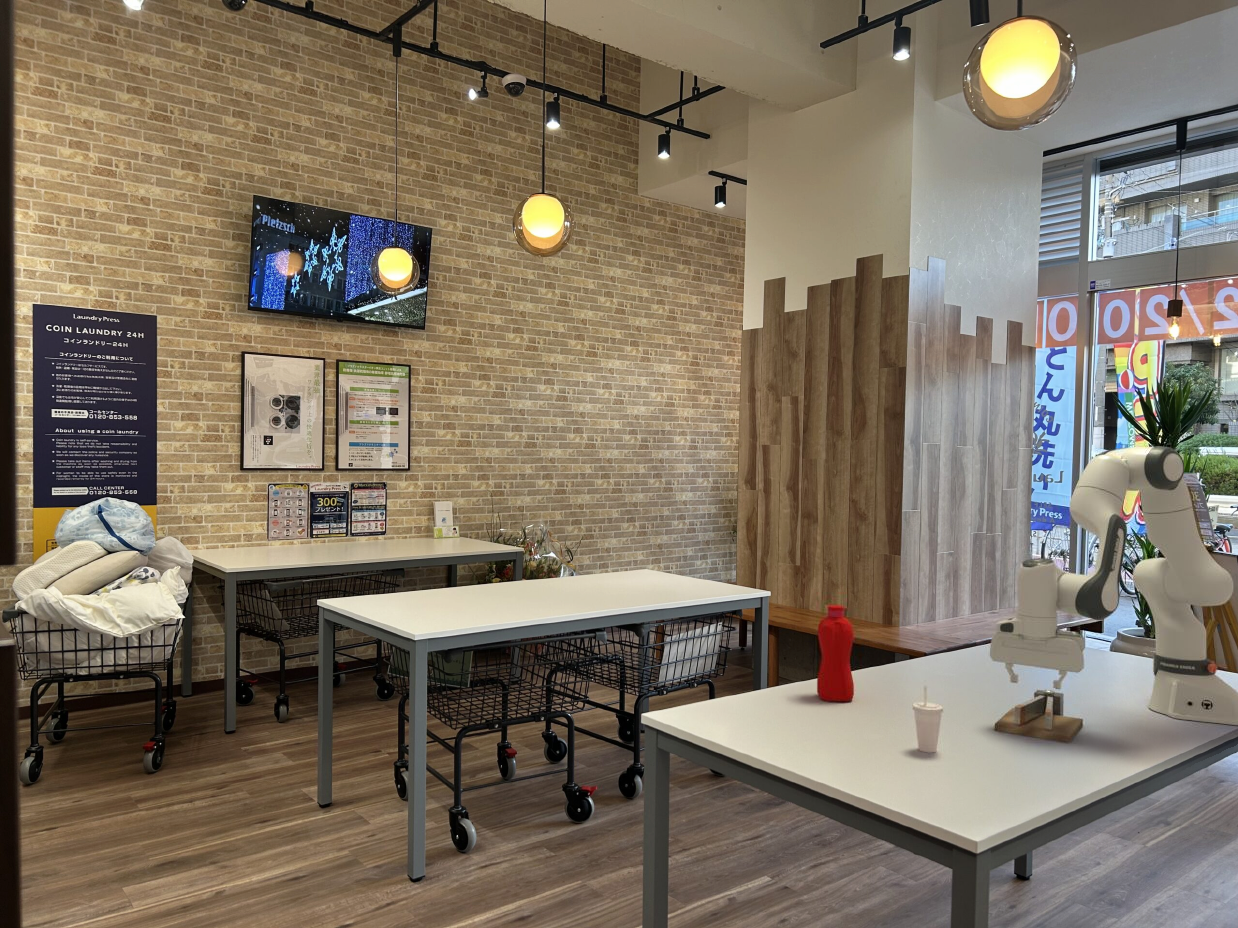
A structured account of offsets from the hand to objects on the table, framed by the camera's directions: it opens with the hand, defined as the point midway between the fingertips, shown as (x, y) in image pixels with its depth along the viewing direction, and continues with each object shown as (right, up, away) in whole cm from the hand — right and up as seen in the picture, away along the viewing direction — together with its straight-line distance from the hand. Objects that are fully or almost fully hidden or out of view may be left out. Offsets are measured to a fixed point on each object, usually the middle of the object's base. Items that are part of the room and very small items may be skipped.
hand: (1035, 685), depth 209 cm
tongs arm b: (+1, -9, +4) cm, 10 cm away
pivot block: (+9, -11, +12) cm, 18 cm away
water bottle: (-41, -11, +29) cm, 51 cm away
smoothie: (-31, -11, -15) cm, 36 cm away
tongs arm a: (+4, -9, +2) cm, 10 cm away
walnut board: (+2, -11, +2) cm, 11 cm away
